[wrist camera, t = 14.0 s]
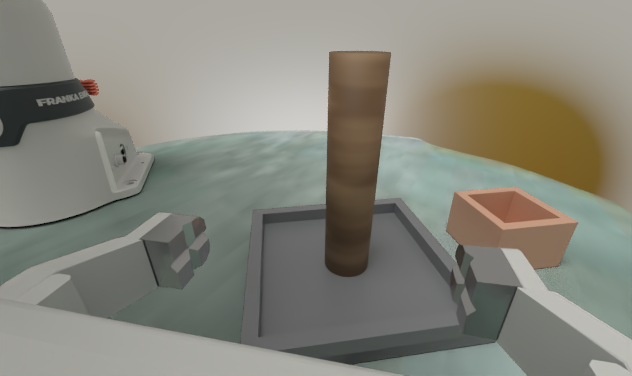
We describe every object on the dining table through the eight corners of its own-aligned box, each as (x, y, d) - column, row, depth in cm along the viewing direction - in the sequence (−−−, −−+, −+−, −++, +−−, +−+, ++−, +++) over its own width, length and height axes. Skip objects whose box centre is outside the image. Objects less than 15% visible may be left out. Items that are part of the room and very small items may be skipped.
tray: (255, 227, 31) (253, 209, 30) (398, 214, 33) (400, 197, 32) (243, 380, 17) (238, 355, 16) (495, 342, 19) (504, 318, 18)
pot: (445, 230, 30) (454, 191, 28) (503, 224, 31) (516, 186, 29) (488, 274, 24) (503, 229, 22) (558, 266, 25) (578, 222, 23)
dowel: (321, 249, 26) (324, 51, 19) (360, 246, 26) (378, 50, 19) (328, 279, 23) (336, 54, 15) (373, 274, 23) (401, 53, 16)
